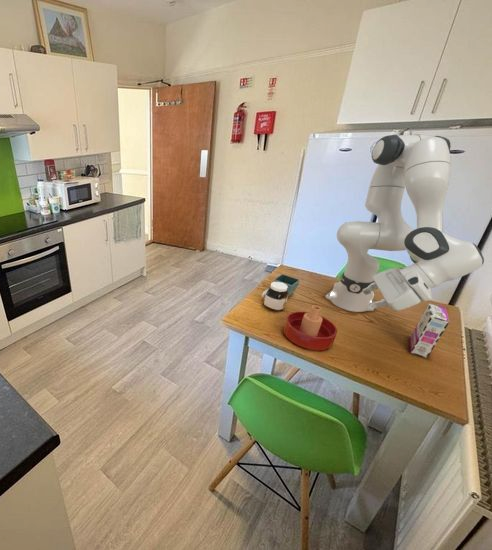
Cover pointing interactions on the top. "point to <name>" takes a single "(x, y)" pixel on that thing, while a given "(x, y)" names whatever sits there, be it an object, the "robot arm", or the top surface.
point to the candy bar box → (429, 330)
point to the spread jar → (276, 296)
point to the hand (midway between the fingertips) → (366, 299)
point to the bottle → (311, 322)
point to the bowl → (306, 341)
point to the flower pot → (288, 282)
